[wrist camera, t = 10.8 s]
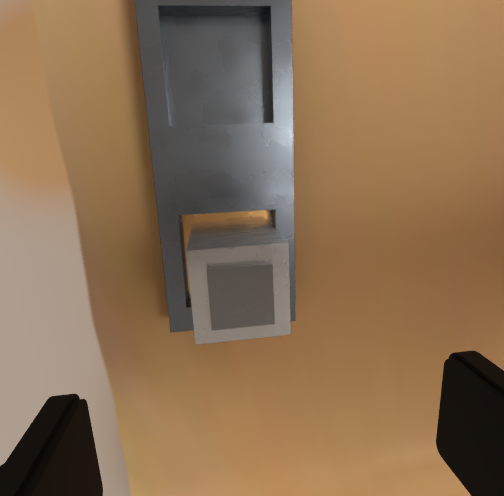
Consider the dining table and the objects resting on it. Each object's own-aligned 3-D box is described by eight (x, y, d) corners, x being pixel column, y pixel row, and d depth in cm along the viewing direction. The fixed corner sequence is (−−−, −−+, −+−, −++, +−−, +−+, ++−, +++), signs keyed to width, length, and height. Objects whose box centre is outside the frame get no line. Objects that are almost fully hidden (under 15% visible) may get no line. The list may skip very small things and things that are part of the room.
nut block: (263, 217, 25) (290, 244, 17) (266, 283, 26) (292, 338, 18) (192, 222, 25) (185, 252, 16) (198, 289, 26) (195, 348, 18)
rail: (282, -9, 23) (291, -29, 20) (287, 306, 28) (295, 320, 26) (139, -10, 22) (131, -32, 19) (173, 317, 27) (170, 332, 25)
